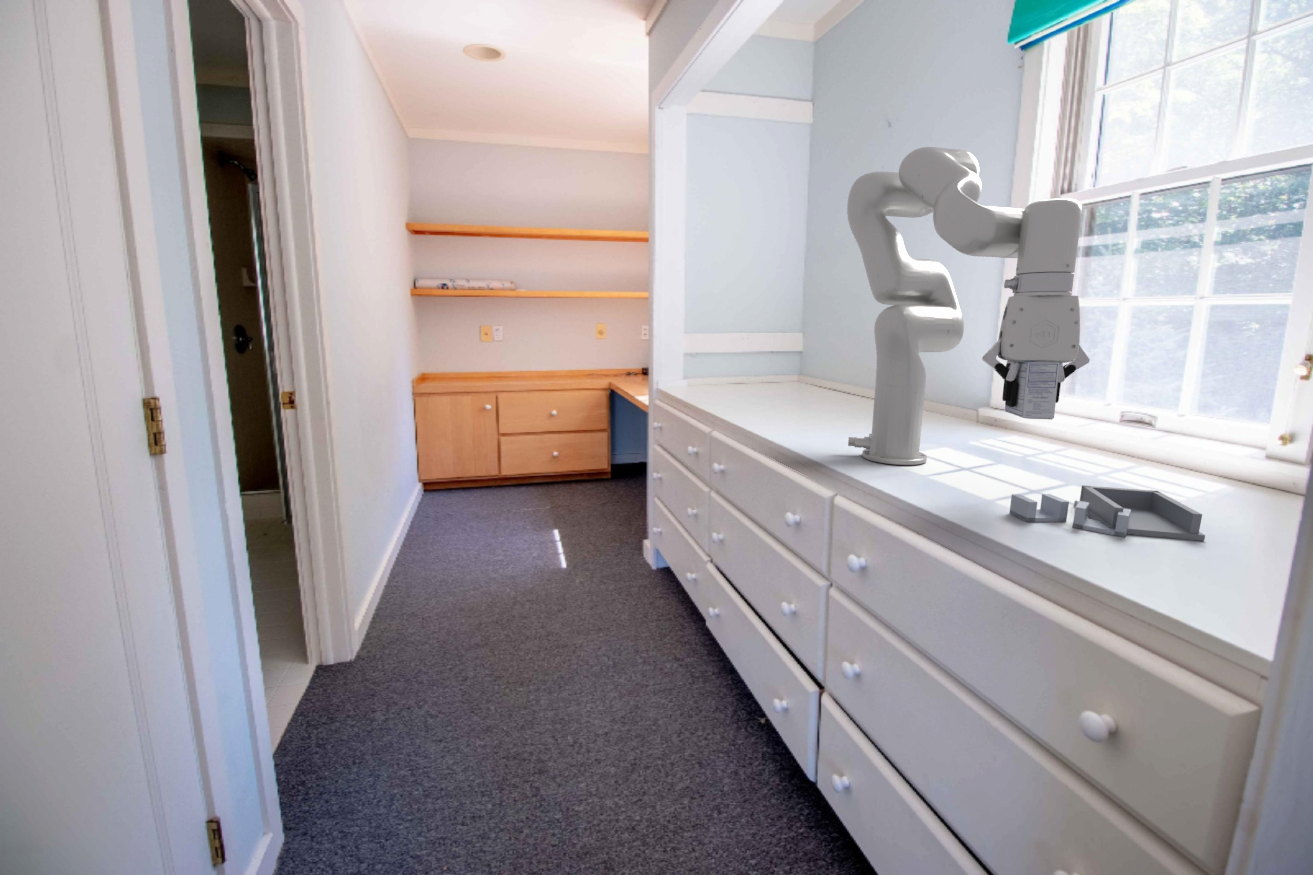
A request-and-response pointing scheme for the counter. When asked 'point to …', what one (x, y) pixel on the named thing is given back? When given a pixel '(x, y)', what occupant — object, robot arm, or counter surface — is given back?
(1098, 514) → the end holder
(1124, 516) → the clip
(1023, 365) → the medicine box
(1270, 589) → the counter surface
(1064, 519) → the clip
